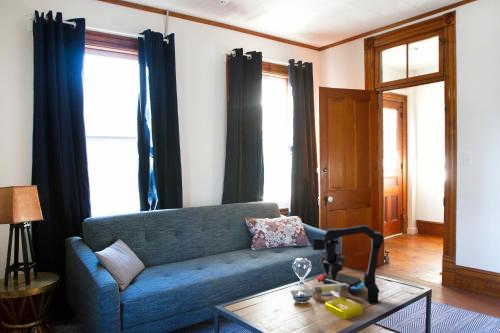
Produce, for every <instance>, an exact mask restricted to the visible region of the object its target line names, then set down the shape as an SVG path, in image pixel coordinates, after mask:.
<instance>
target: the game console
mask: <svg viewBox="0 0 500 333" xmlns="http://www.w3.org/2000/svg"><path fill="white" fill-rule="evenodd" d="M316 279H317V282H318V283H320V282H322V283H323V284H337V283H346V284H347V285H348V295H349V294H350V295H354V294H356V293H357V292H359V291H361V290H362V289H363V288H366V287H365V285H364V283H363V280H362V278H361V277H357V276H352V275H349V274H344V273H341V272H338V273H337V276H336V279H335V281H333V279H332V276H331V273H330V272H329V275H326V273H323V274H321V275H319V276H316Z"/></svg>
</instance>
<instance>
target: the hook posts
mask: <svg viewBox="0 0 500 333" xmlns="http://www.w3.org/2000/svg"><path fill="white" fill-rule="evenodd" d="M337 292H338V293H337V294H338V298H340V297H345V298H348V299H349V293H348V286H344V287H343V290H342V291H337ZM322 297H323V296H322V289H321V288H316V292H314V291H313V297H311V298H312V299H313V300H314V302H316V303H322V302H323V301H322V299H323V298H322Z"/></svg>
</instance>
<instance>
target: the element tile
mask: <svg viewBox="0 0 500 333" xmlns="http://www.w3.org/2000/svg"><path fill="white" fill-rule="evenodd" d="M324 305H325V306H324V307H325V308H324V309H325V312H328V313H330V314H332V315H334V316H336V317H338V318H339V319H342V320H349V319H351V318H352V319H353V318H354V317H357V316H361V315H363V314H364V306H363V304H361V303H359V302H357V301H355V300H352V299H350V298H349V297H348V298H345V297H337V298H334V299H330V300H327V301H325V304H324Z"/></svg>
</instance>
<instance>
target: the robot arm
mask: <svg viewBox="0 0 500 333" xmlns="http://www.w3.org/2000/svg"><path fill="white" fill-rule="evenodd" d="M358 234H365V235H366V236H367V237H369V238H370V243H371V249H370V254H369V260H368V266H367V271H366V273H365V272H363V274H362V278H361V279H362V283H364V285H365V287H364V288H365V289H366V291H367V292H366V295H367V296H366V298H364V301H366V302H367V303H368V304H369V305H374V304H375V305H376V304H377V305H378V304H381V301H380V300H379V293H380V289H379V286H378V285H377V284H376V271H377V270H376V268H377V262H378V258H379V252H380V249H381V248H382V245H383V243H384V236H383V235H382V233H381V232H380V231H375V230H374V229H372V228H370V227H368V226H367V225H366V224H362V225H361V224H360V225H356V226H354V225H353V226H350V227H344V228H338V227H330V228H327V229H326V231H325V234H324V235H323V237H322V238H316V237H313V240H312V241H313V242H312V250H313V251H323V250H324V249H325V251H324V255H321V256H320V258H319V261H320V264H321V266H322V267H323V271H324V272H325V274H326V275H329V273H331V276H332V279H333V281H335V279H336V276H337V273H340V271H342V270H343V265H342V264H345V262H346V260H347V258H346V257H344V256H342V253H340V252H337V245H340V243H341V242H340V241H339V239H340V238H342V237H346V236H352V235H358ZM340 263H341V264H340Z"/></svg>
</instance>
